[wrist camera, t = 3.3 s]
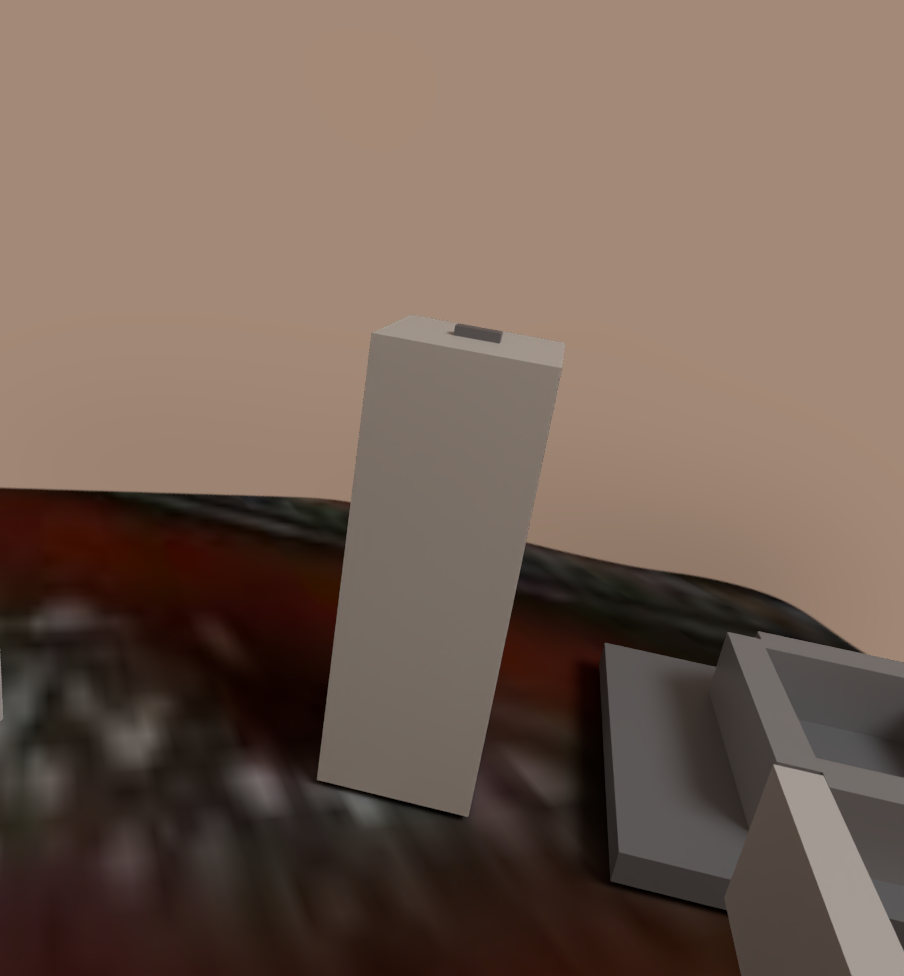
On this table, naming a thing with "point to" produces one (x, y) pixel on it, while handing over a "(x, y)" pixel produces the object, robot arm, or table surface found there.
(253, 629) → the table surface
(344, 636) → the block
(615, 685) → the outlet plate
